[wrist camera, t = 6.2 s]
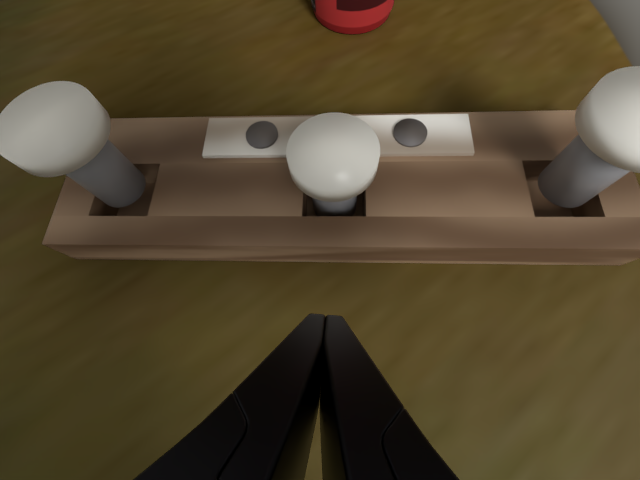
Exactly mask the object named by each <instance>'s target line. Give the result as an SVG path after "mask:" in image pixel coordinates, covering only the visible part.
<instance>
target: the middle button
mask: <svg viewBox="0 0 640 480" xmlns="http://www.w3.org/2000/svg"><path fill="white" fill-rule="evenodd" d="M286 157H287V162H288V166H289V170H290V174H291V177H292V179H293V181H294V183H295V184H296V186H297V187H298V188H299V189H300V190H301V191H302V192H303V193H305V194H306V195H308V196H310V197H312V200H313V206H314V211H315V214H316V215H317V216H353V215H354V213H355V210H356V202H357V195H359V194H361V193H362V192H363V191H365V190H366V189H367V188H368V187H369V186H370V184H371V183H372V182H373V180H374V178H375V176H376V173H377V169H378V163H379V157H380V143H379V140H378V137H377V135H376V133H375V132H374V130H373V129H372V128H371V127H370V126H369V125H368V124H367V123H366V122H364V121H363V120H361V119H359V118H357V117H355V116H353V115H349V114H345V113H336V112H332V113H324V114H320V115H316V116H314V117H311V118H309V119H307V120H306V121H304V122H303V123H301V124H300V125H299V126H298V127H297V128H296V129H295V130H294V131H293V133H292V134H291V136H290V138H289V140H288V143H287V148H286Z"/></svg>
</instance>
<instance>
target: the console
mask: <svg viewBox="0 0 640 480" xmlns="http://www.w3.org/2000/svg"><path fill="white" fill-rule="evenodd" d="M575 113H576V110H562V111H505V112H449V113H392V114H349V115H353V116H355V117H357V118H359V119H361V120H363V121H364V122H366V123H367V124H368V125H369V126H370V127H371V128H372V129H373V130H374V132H375V133H376V135H377V137H378V140H379V143H380V157H379V163H378V169H377V173H376V176H375V178H374V180H373V182H372V183H371V184H370V186H369V187H368V188H367V189H366V190H365V191H363V192H362V193H361V194H359V195H357V202H356V210H355V213H354V215H353V216H317V215H316V214H315V211H314V206H313V200H312V197H310V196H308V195H306V194H305V193H303V192H302V191H301V190H300V189H299V188H298V187H297V186H296V184H295V183H294V181H293V179H292V177H291V174H290V170H289V166H288V162H287V157H286V148H287V143H288V140H289V138H290V136H291V134H292V133H293V131H294V130H295V129H296V128H297V127H298V126H299V125H300V124H301V123H303V122H304V121H306V120H307V119H309V118H311V117H314V116H316V115H280V116H223V117H167V118H110V120H111V130H110V134H109V137H108V139H109V140H110V142H111V143H112V144H113V145H114V146H115V147H116V148H117V149H118V150H119V151H120V152H121V153H122V154H123V155H124V156H125V157H126V158H127V159H128V160H129V161H130V162H131V163H132V164H133V165H134V166H135V167H136V168H137V169H138V170H139V171H140V172H141V173H142V174H143V175H144V177H145V180H146V186H145V189H144V192H143V193H142V195H141V196H140V198H139V199H138V200H136V201H135V202H134V203H132V204H130V205H128V206H125V207H119V208H116V207H111V206H109V205H107V204H106V203H104V202H103V201H102V200H100V199H99V198H97V197H96V196H95V195H93V194H92V193H90V192H89V191H88V190H86V189H85V188H84V187H82V186H81V185H79V184H78V183H77V182H75V181H74V180H72V179H71V178H70V177H68V176H66V178H65V181H64V184H63V187H62V190H61V192H60V195H59V198H58V201H57V203H56V206H55V209H54V212H53V214H52V217H51V220H50V223H49V225H48V228H47V231H46V234H45V237H44V239H43V242H42V245H45V246H47V247H49V248H52V249H54V250H56V251H59V252H61V253H63V254H66V255H68V256H70V257H72V258H75V259H105V260H194V261H283V262H371V263H460V264H549V265H623V264H626V263H628V262H631V261H633V260H636V259H639V258H640V187H639V185H638V182H637V179H636V176H635V174H634V172H631V171H630V172H629V173H627V174H626V175H624V176H623V177H621V178H620V179H619V180H617V181H616V182H614V183H613V184H611V185H610V186H609V187H607V188H606V189H604V190H603V191H602V192H600V193H599V194H597V195H596V196H594V197H593V198H592V199H590V200H589V201H587V202H586V203H584V204H583V205H581V206H579V207H574V208H565V207H561V206H558V205H555V204H553V203H552V202H550V201H549V200H547V199H546V198H545V197H544V196H543V195H542V193H541V191H540V189H539V187H538V177H539V175H540V173H541V172H542V171H543V170H544V169H545V168H546V167H547V166H548V165H549V164H550V163H551V162H552V161H553V160H554V159H555V158H556V157H557V156H558V155H559V154H560V153H561V152H562V151H563V150H564V149H565V148H566V147H567V146H568V145H569V144H570V143H571V141H572V140H573V139H574V138H575V137H576V136H577V135H578V131H577V129H576V124H575Z"/></svg>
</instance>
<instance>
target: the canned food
mask: <svg viewBox="0 0 640 480" xmlns="http://www.w3.org/2000/svg"><path fill="white" fill-rule="evenodd" d="M393 4H394V0H311V5H312V8H313V10H314V13H315V16H316V18H317V19H318V21H319V22H320V23H321V24H322V25H323V26H325V27H327V28H328V29H330V30H333V31H335V32H338V33H343V34H361V33H366V32H369V31H371V30H374V29H376V28H378V27H379V26H380V25H382V24H383V23H384V22H385V21H386V19H387V18H388V16H389V14H390V12H391V9H392V7H393Z"/></svg>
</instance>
